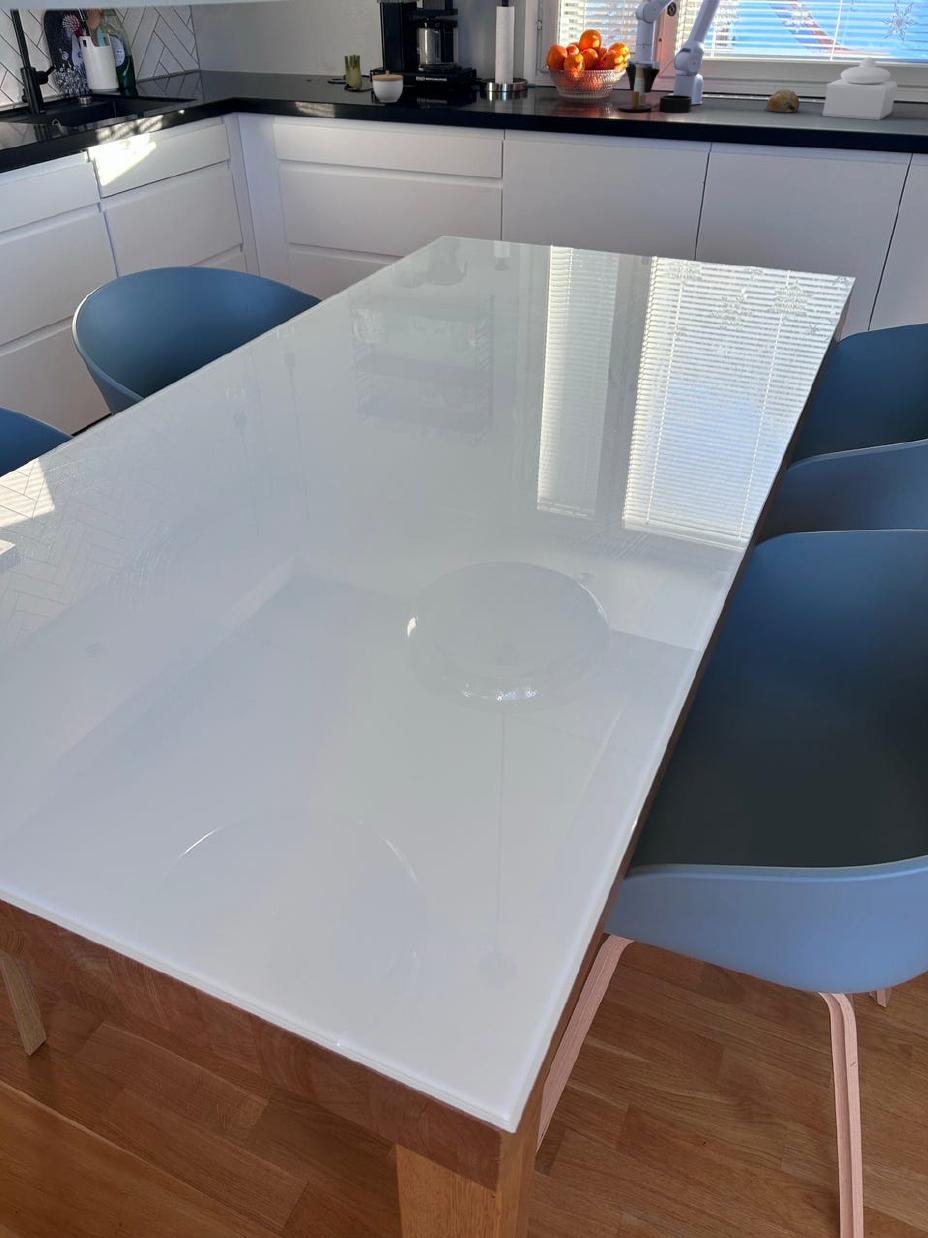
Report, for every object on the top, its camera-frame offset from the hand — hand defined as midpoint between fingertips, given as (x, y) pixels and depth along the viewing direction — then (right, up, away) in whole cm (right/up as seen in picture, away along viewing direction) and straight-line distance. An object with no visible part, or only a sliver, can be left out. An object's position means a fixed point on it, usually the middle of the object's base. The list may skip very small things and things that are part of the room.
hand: (640, 91), depth 320 cm
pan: (+10, -10, -7) cm, 16 cm away
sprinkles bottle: (0, -4, +3) cm, 5 cm away
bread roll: (+45, -11, -8) cm, 47 cm away
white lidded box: (+66, -17, -16) cm, 70 cm away
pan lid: (-3, -10, -7) cm, 12 cm away
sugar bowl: (-87, +5, +16) cm, 88 cm away
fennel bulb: (-102, +23, +42) cm, 112 cm away
